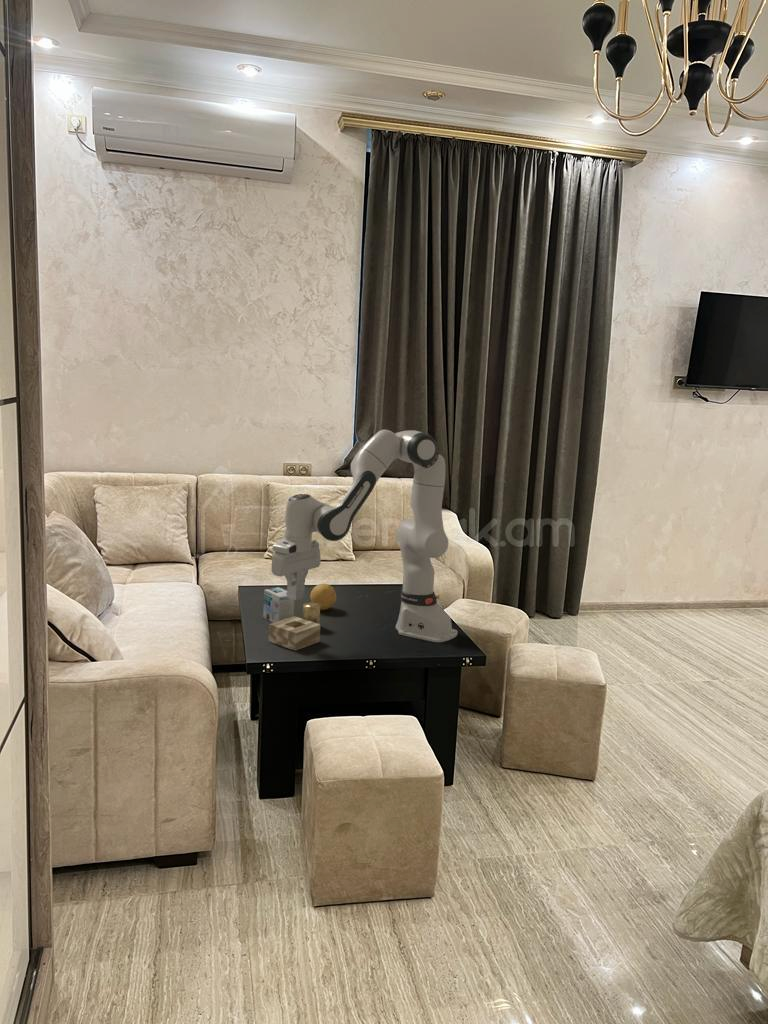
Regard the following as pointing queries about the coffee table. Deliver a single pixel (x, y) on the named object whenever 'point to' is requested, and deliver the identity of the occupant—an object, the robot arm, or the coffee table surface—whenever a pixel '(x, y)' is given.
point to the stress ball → (323, 596)
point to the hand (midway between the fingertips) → (296, 584)
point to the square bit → (297, 586)
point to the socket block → (294, 633)
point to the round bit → (311, 612)
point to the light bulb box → (277, 605)
